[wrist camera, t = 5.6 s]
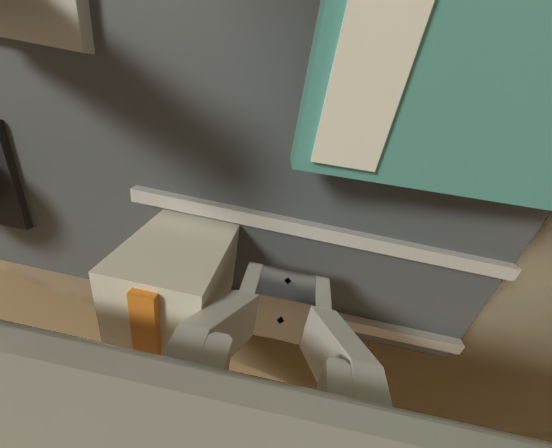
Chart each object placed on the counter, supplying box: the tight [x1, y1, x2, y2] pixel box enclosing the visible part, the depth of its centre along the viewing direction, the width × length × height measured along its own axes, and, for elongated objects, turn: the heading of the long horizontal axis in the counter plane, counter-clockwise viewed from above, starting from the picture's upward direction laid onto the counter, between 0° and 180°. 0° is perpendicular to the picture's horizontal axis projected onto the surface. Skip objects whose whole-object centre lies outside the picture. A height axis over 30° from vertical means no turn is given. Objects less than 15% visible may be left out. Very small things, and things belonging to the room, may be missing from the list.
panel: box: [0, 0, 552, 358], centre depth 10 cm, size 14×23×3 cm, turn 80°
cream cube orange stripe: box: [88, 209, 240, 355], centre depth 9 cm, size 3×3×4 cm
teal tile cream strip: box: [290, 0, 552, 211], centre depth 7 cm, size 8×5×1 cm, turn 80°
